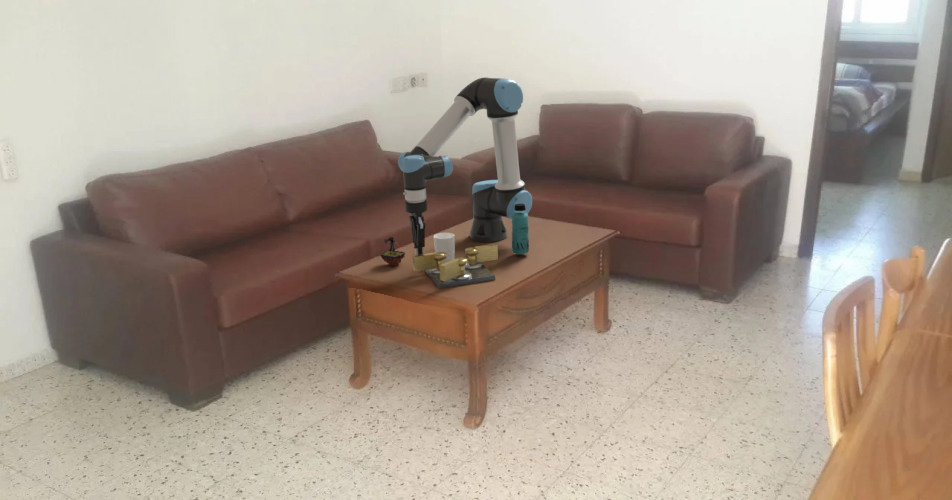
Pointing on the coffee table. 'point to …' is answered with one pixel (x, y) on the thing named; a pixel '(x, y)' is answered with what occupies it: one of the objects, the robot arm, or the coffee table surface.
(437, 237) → the white cup
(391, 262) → the figurine
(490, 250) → the foot screw
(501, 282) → the coffee table surface
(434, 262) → the foot screw
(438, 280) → the plate
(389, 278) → the coffee table surface
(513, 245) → the beverage bottle
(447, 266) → the foot screw
